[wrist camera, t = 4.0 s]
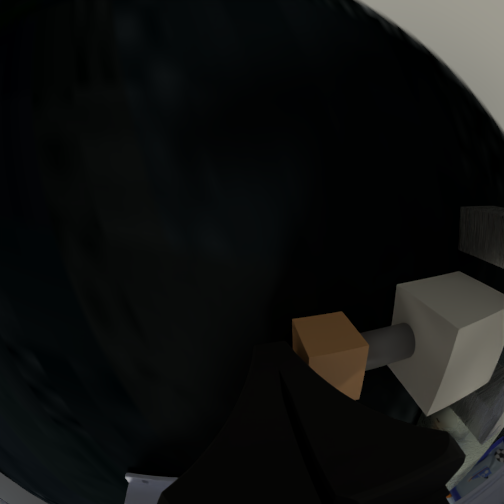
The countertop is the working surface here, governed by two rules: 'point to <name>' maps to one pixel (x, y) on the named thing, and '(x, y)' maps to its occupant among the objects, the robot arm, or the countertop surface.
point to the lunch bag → (479, 471)
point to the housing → (500, 384)
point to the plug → (414, 341)
